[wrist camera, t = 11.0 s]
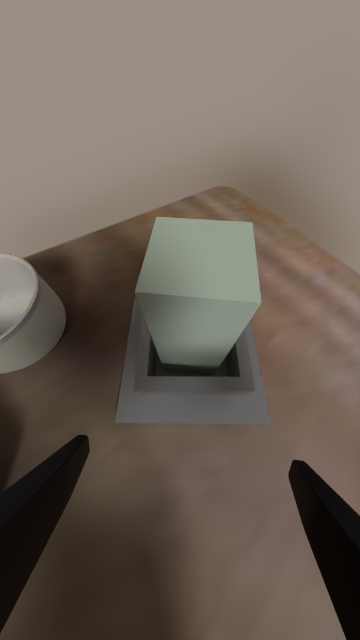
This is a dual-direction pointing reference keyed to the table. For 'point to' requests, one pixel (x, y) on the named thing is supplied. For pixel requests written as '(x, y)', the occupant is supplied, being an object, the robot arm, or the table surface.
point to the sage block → (198, 290)
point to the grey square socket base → (189, 385)
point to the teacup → (26, 315)
